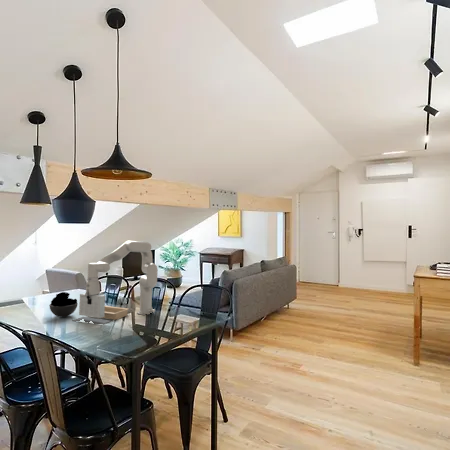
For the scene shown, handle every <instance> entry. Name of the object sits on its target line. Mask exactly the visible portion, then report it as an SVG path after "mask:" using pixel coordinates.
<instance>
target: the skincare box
mask: <svg viewBox="0 0 450 450" xmlns="http://www.w3.org/2000/svg"><path fill="white" fill-rule="evenodd" d="M85 293H86V292H85ZM85 293H84V292H83V293H80V294H79V304H78V305H79V308H78V313H79V314H78V315H79V316H82V317H89V318H96V319H102V318H101V317H104V313H105V306H106V305H105V304H106V303H105V302H106V295H103V294H99V295H96V294H95V295H92V296H91V299H92V300H91V304H87V301H88V299H87V298H86V296H85ZM89 297H90V296H89Z"/></svg>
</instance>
